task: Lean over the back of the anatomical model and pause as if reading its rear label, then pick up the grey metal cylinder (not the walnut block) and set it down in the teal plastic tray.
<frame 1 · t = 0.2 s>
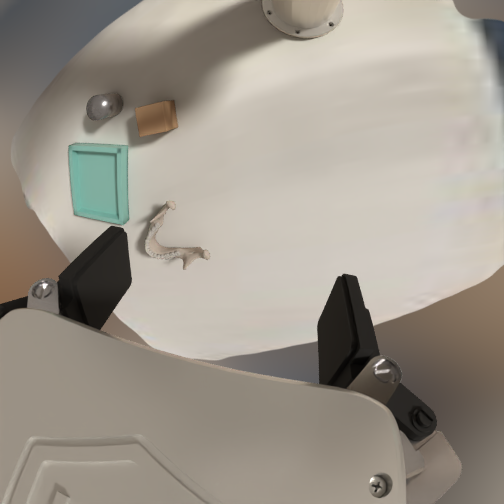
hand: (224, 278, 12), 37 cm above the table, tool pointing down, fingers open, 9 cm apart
anatomical model: (176, 228, 54), on the table
grey metal cylinder: (113, 104, 41), on the table
walnut block: (163, 116, 42), on the table
tray: (100, 180, 50), on the table
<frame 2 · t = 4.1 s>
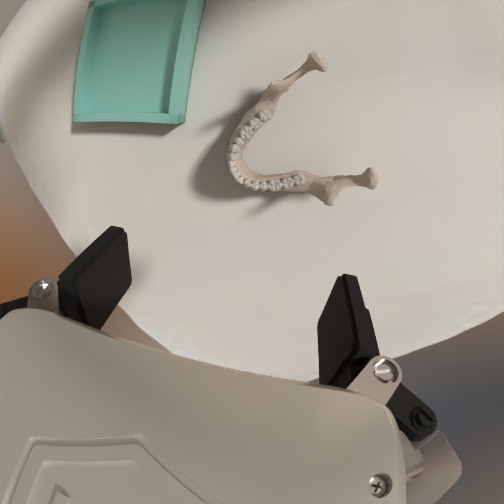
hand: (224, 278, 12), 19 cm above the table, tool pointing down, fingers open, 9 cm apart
anatomical model: (287, 139, 27), on the table
tray: (136, 53, 22), on the table
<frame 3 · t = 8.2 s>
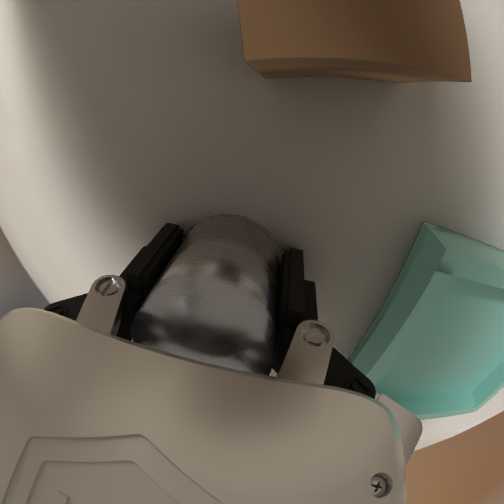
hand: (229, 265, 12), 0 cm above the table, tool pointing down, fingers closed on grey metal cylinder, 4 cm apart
grey metal cylinder: (230, 260, 13), on the table, touching gripper
walnut block: (327, 18, 7), on the table
tray: (461, 341, 14), on the table
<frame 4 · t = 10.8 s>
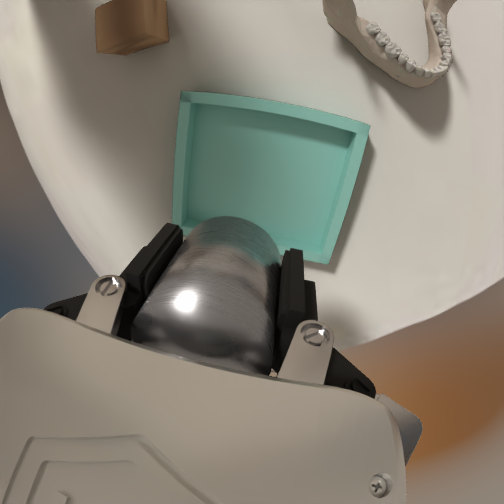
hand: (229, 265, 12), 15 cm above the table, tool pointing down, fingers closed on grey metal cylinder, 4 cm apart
anatomical model: (388, 26, 16), on the table
grey metal cylinder: (230, 262, 13), point 15 cm above the table, touching gripper
walnut block: (145, 27, 18), on the table
tray: (263, 173, 25), on the table
when the fingers open (2 cm above the table, at t = 13.5 s): grey metal cylinder drops 1 cm, resting on tray.
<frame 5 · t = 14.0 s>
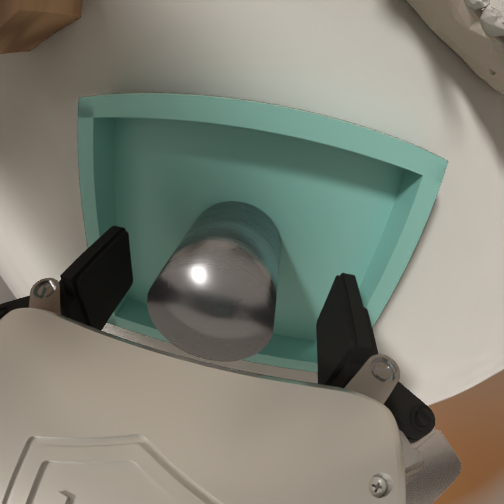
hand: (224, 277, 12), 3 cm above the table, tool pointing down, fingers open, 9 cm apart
grey metal cylinder: (235, 243, 14), point 1 cm above the table, touching tray
walnut block: (54, 5, 8), on the table
tray: (238, 238, 15), on the table
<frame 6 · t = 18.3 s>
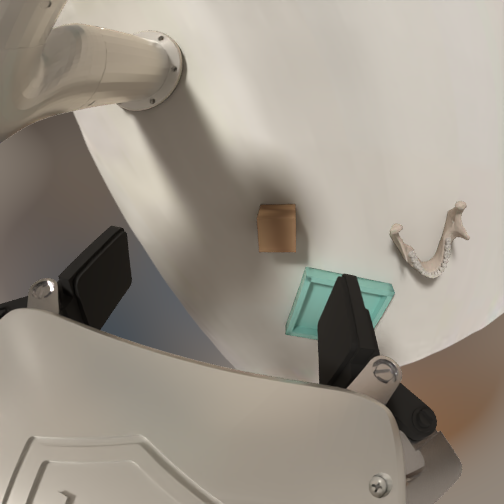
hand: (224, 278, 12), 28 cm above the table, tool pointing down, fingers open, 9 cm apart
anatomical model: (421, 232, 39), on the table
walnut block: (278, 220, 41), on the table
tray: (337, 306, 48), on the table
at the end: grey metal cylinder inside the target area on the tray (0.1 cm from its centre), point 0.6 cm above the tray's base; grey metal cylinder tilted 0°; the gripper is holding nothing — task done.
